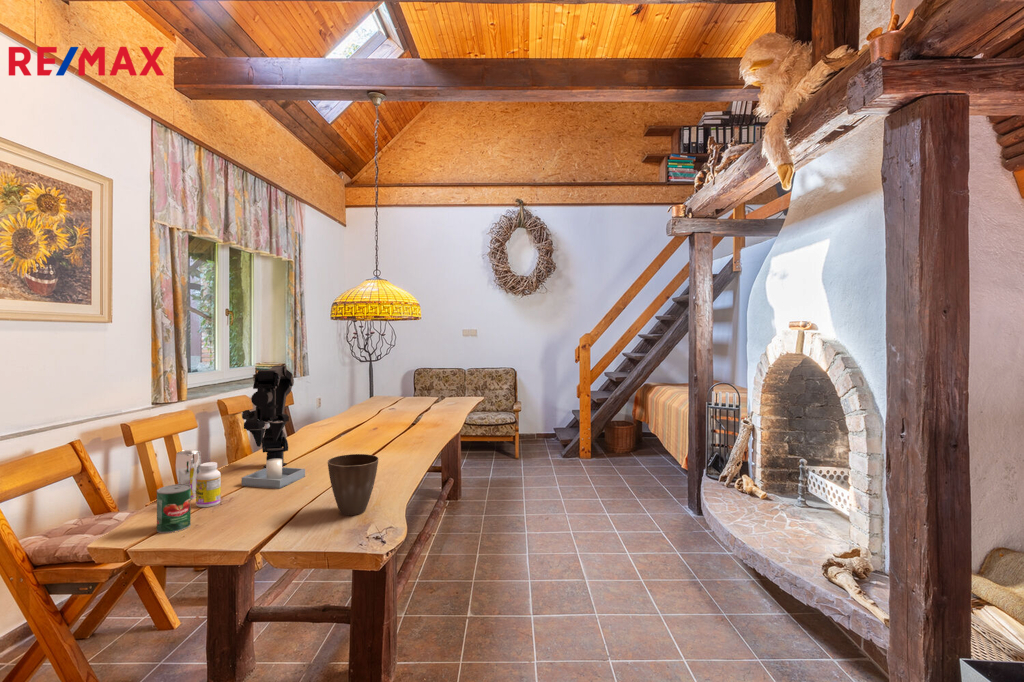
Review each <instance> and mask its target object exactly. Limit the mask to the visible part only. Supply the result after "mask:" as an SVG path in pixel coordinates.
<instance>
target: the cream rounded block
mask: <svg viewBox="0 0 1024 682" xmlns="http://www.w3.org/2000/svg"><path fill="white" fill-rule="evenodd" d="M265 465H266V479H282V467H283V466H282V459H278V458H277V459H269V460H267V461H266V464H265Z"/></svg>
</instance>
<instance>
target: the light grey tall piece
mask: <svg viewBox="0 0 1024 682" xmlns="http://www.w3.org/2000/svg"><path fill="white" fill-rule="evenodd" d="M201 454H202V453H201V450H199V449H188V450H187V449H186V450H181V451H178V452H176V455H175V456H176V457H175V474H176V475H175V476H176V479H177V484H188V485H190V486H191V499H192V500H196V499H195V498H196V476H197V474H198V473H199V472H201V470H200V464H202V456H201Z"/></svg>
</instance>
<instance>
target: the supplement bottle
mask: <svg viewBox="0 0 1024 682" xmlns="http://www.w3.org/2000/svg"><path fill="white" fill-rule="evenodd" d="M221 475H222V473H221V472H220V471H219V470H218V462H215V461H210V462H204V463H201V464H200V472H199V473H198V474H197V476H196V499H195V505H196V507H199V508H210V507H214V506H217V505H218V504H220V503H221V500H222V499H221V497H222V496H221V488H222V487H221V486H222V485H221V482H222V481H221V480H222V479H221V478H222V477H221Z"/></svg>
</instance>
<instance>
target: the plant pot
mask: <svg viewBox="0 0 1024 682" xmlns="http://www.w3.org/2000/svg"><path fill="white" fill-rule="evenodd" d="M378 465H379V457H378V456H376V455H373V454H367V453H365V454H364V453H361V454H360V453H352V454H351V453H350V454H343V455H338V456H335V457H331V458H330V459H328V460H327V467H328V468H327V469H328V475H329V481H330V486H331V488H332V489H331V490H332V493H333V497H334V499H335V502H336V505H337V509H338V510H339V513H340V514H341V515H342V516H357V515H361V514H363V513H365V512H366V510H367V507H368V504H369V502H370V499H371V495H372V493H373V489H374V484H375V482H376V476H377V472H378Z"/></svg>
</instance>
